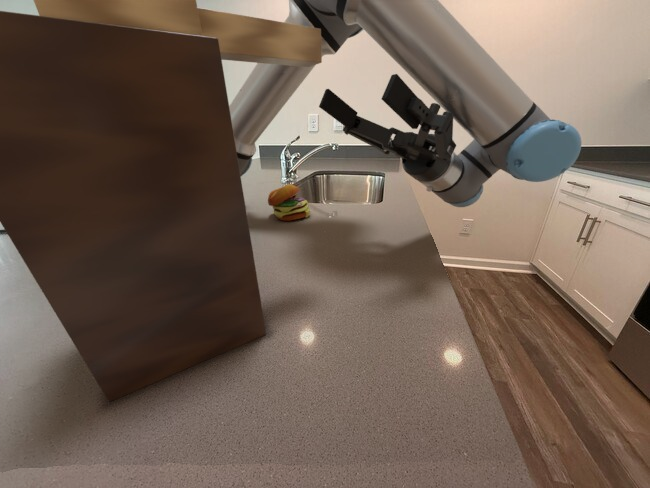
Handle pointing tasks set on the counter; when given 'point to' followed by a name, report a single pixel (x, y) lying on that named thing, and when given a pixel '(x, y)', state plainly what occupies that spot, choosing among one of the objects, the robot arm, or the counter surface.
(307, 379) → the counter surface
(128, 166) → the stand
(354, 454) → the counter surface
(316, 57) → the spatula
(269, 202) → the cheeseburger
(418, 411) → the counter surface
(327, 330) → the counter surface
